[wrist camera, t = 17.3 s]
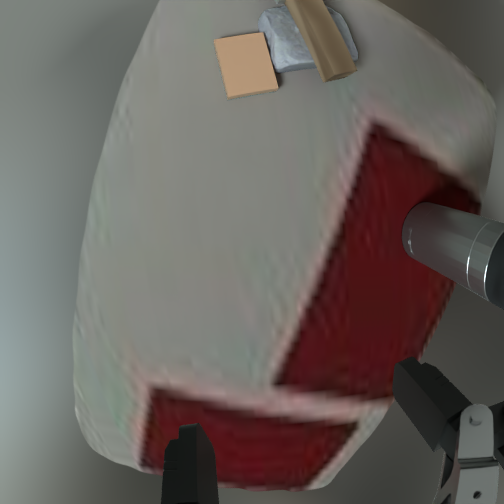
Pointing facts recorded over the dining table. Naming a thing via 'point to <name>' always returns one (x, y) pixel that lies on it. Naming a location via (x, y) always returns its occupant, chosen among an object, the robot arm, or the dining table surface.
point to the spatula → (321, 38)
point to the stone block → (294, 39)
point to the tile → (245, 65)
